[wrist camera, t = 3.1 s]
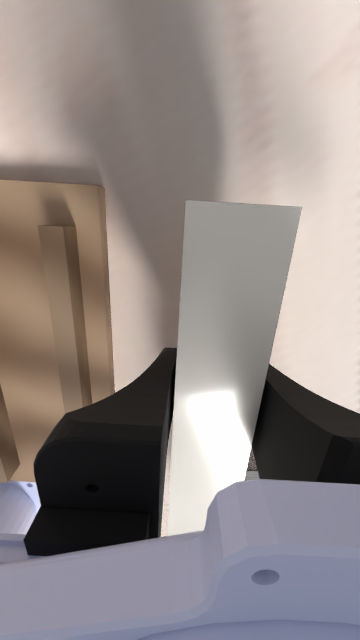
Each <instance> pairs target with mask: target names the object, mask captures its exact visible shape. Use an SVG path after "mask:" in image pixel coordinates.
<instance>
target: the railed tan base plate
mask: <svg viewBox="0 0 360 640" xmlns="http://www.w3.org/2000/svg"><path fill="white" fill-rule="evenodd" d="M114 393H115V390H114V370H113V351H112V331H111V311H110V292H109V272H108V252H107V232H106V213H105V193H104V188H103V187H101V186H99V185H85V184H68V183H51V182H33V181H16V180H0V482H5V483H8V481H21V482H36V481H35V477H34V467H33V463H34V460H35V458H36V455H37V453H38V452H39V450H40V449H41V447H42V445H43V444H44V442H45V441H46V439H47V438H48V436H49V435H50V433H51V432H52V430H53V429H54V427H55V426H56V425H57V423H58V422H59V421H60V420H61V419H62V417H63V416H64V415H65V413H68V412H71V411H74V410H77V409H80V408H82V407H85V406H88V405H91V404H93V403H96V402H98V401H100V400H102V399H104V398H106V397H108V396H111V395H112V394H114Z"/></svg>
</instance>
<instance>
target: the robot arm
mask: <svg viewBox="0 0 360 640" xmlns="http://www.w3.org/2000/svg"><path fill="white" fill-rule="evenodd" d="M176 360H177V348H165V349H163V351H162V352H161V354H160V355H159V356H158V357H157V359H156V360H155V361H154V362H153V363H152V364H151V365H150V367H149V368H148V369H147V370H146V371H144V372H143V373H142V374H141V375H140V376H139V377H138V378H137V379H136V380H134V381H133V382H132V383H130V384H129V385H127V386H126V387H124V388H123V389H121V390H119V391H118V392H116V393H114V394H112V395H111V396H108V397H106V398H104V399H102V400H100V401H98V402H96V403H93V404H91V405H88V406H85V407H82V408H80V409H77V410H74V411H71V412H68V413H65V415H64V416H63V417H62V419H61V420H60V421H59V422H58V423H57V425H56V426H55V427H54V429H53V430H52V432H51V433H50V435H49V436H48V438H47V439H46V441H45V442H44V444H43V445H42V447H41V449H40V450H39V452H38V453H37V455H36V458H35V460H34V463H33V467H34V477H35V481H36V482H21V481H8V483H5V482H0V640H360V414H359V413H357V412H354V411H352V410H349V409H347V408H344V407H342V406H340V405H338V404H335V403H333V402H331V401H329V400H327V399H325V398H323V397H321V396H319V395H317V394H315V393H313V392H311V391H310V390H308V389H306V388H304V387H303V386H301V385H299V384H298V383H296V382H295V381H293V380H291V379H290V378H288V377H287V376H285V375H284V374H282V373H281V372H280V371H278V370H277V369H275V368H274V367H273V366H271V365H270V364H269V366H268V370H267V375H266V380H265V384H264V389H263V394H262V399H261V403H260V408H259V413H258V417H257V422H256V427H255V432H254V436H253V441H252V449H253V452H254V456H255V460H256V465H257V469H258V474H259V478H260V479H252V480H245V481H237V482H234V483H233V484H231V485H229V486H227V487H226V488H224V489H222V490H220V491H219V492H218V493H217V494H216V495H215V497H214V499H213V500H212V502H211V504H210V506H209V507H208V510H207V517H206V524H205V528H204V530H201V531H195V532H189V533H183V534H177V535H171V536H165V537H160V536H161V522H162V508H163V495H164V481H165V468H166V455H167V446H168V439H169V433H170V427H171V422H172V416H173V410H174V395H175V377H176Z"/></svg>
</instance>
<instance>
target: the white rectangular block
mask: <svg viewBox="0 0 360 640" xmlns="http://www.w3.org/2000/svg"><path fill="white" fill-rule="evenodd" d="M301 210H302V207H295V206H278V205H261V204H244V203H227V202H211V201H194V200H186V202H185V220H184V237H183V255H182V272H181V290H180V307H179V325H178V342H177V360H176V377H175V395H174V412H173V430H172V447H171V465H170V482H169V500H168V517H167V535H166V536H171V535H177V534H183V533H189V532H195V531H201V530H204V528H205V524H206V517H207V510H208V507H209V506H210V504H211V502H212V500H213V499H214V497H215V495H216V494H217V493H218V492H219V491H220V490H222V489H224V488H226V487H227V486H229V485H231V484H233V483H234V482H237V481H244V479H245V474H246V469H247V465H248V460H249V455H250V451H251V446H252V441H253V436H254V432H255V427H256V422H257V417H258V413H259V408H260V403H261V399H262V394H263V389H264V384H265V380H266V375H267V370H268V366H269V361H270V356H271V351H272V347H273V342H274V337H275V333H276V328H277V323H278V318H279V314H280V309H281V304H282V299H283V295H284V290H285V285H286V281H287V276H288V271H289V266H290V262H291V257H292V252H293V248H294V243H295V238H296V233H297V229H298V224H299V219H300V215H301Z"/></svg>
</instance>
